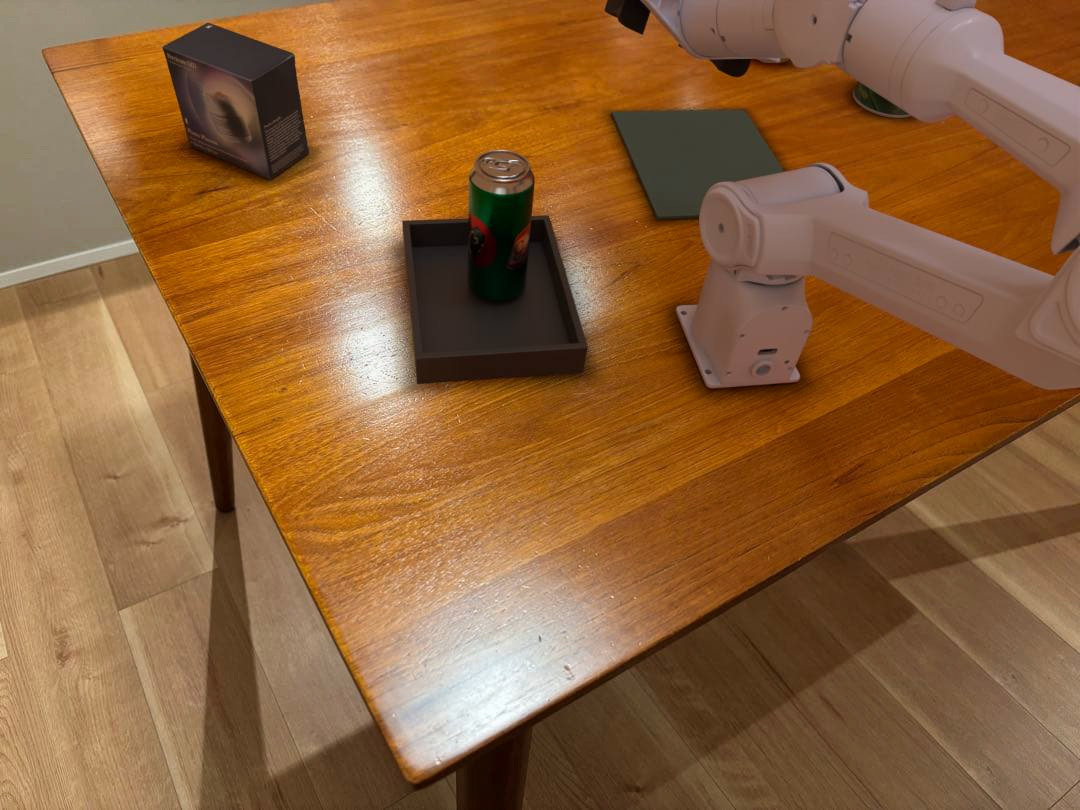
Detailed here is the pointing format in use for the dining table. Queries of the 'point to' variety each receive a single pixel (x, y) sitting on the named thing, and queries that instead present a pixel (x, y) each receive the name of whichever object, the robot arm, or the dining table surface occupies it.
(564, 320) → the tray
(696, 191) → the mat
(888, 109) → the canned tomato
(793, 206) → the robot arm
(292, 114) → the small box
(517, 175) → the soda can
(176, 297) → the dining table surface
